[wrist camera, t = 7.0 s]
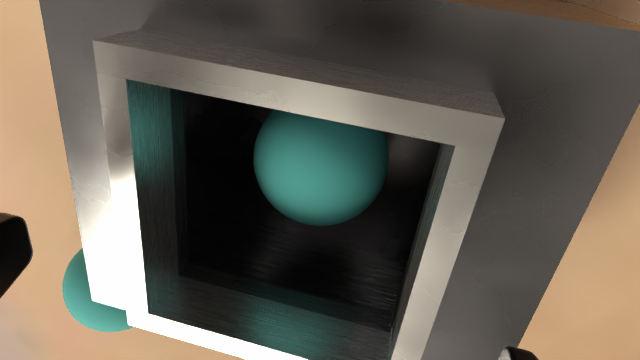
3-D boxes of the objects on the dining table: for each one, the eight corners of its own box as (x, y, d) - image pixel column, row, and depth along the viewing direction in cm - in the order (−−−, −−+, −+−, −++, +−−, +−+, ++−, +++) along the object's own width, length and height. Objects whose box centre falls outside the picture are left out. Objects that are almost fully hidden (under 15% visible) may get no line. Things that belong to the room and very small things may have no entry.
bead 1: (183, 228, 19) (126, 290, 15) (185, 296, 21) (135, 364, 17) (100, 208, 19) (28, 262, 16) (110, 276, 21) (48, 338, 18)
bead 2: (404, 88, 14) (397, 134, 10) (380, 197, 15) (367, 267, 12) (281, 65, 14) (234, 102, 11) (272, 174, 16) (230, 235, 12)
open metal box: (575, 3, 12) (726, 55, 6) (469, 280, 17) (490, 469, 11) (172, -58, 14) (-43, -68, 7) (182, 209, 18) (55, 337, 12)
